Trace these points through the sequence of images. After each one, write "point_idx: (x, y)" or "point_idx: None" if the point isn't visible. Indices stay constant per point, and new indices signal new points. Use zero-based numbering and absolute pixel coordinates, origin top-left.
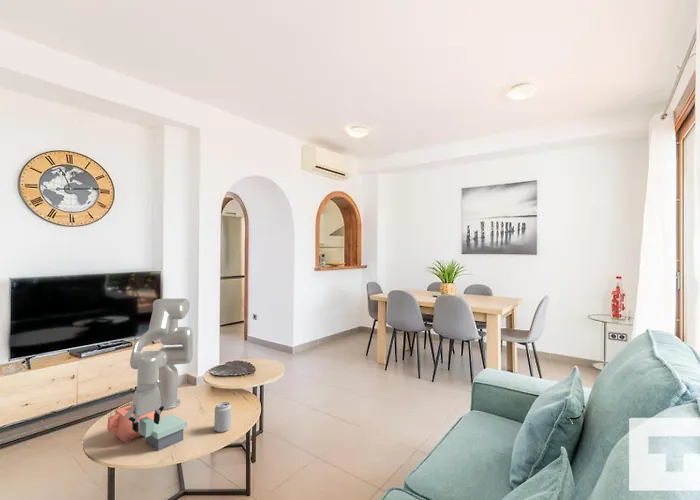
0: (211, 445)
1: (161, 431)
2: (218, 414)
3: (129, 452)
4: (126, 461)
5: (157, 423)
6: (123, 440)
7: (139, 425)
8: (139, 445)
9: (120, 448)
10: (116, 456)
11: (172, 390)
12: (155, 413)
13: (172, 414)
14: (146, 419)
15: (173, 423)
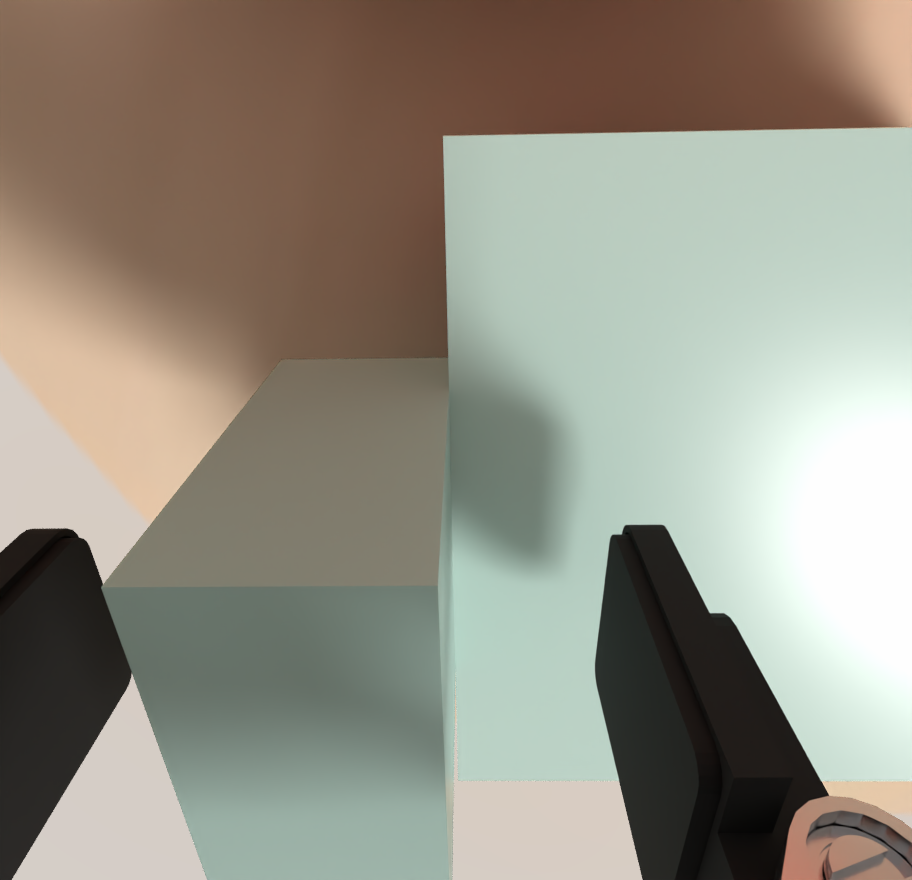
0: (853, 790)
1: (542, 764)
2: None
3: (214, 286)
4: (137, 470)
5: (603, 693)
6: None
7: (217, 463)
8: (390, 193)
9: (122, 16)
10: (41, 248)
11: None
12: (719, 870)
13: None
14: (315, 791)
15: (889, 675)
